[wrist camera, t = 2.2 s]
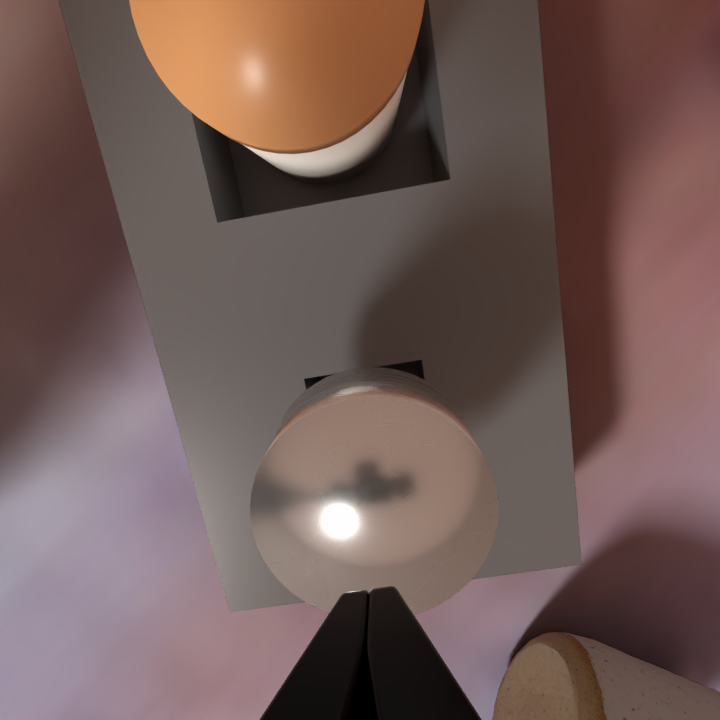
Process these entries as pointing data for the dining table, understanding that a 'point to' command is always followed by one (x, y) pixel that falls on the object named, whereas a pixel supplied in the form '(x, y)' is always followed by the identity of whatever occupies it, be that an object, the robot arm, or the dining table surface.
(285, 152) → the small lidded jar
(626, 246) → the dining table surface
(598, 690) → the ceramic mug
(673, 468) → the dining table surface
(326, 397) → the plunger
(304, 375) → the housing
